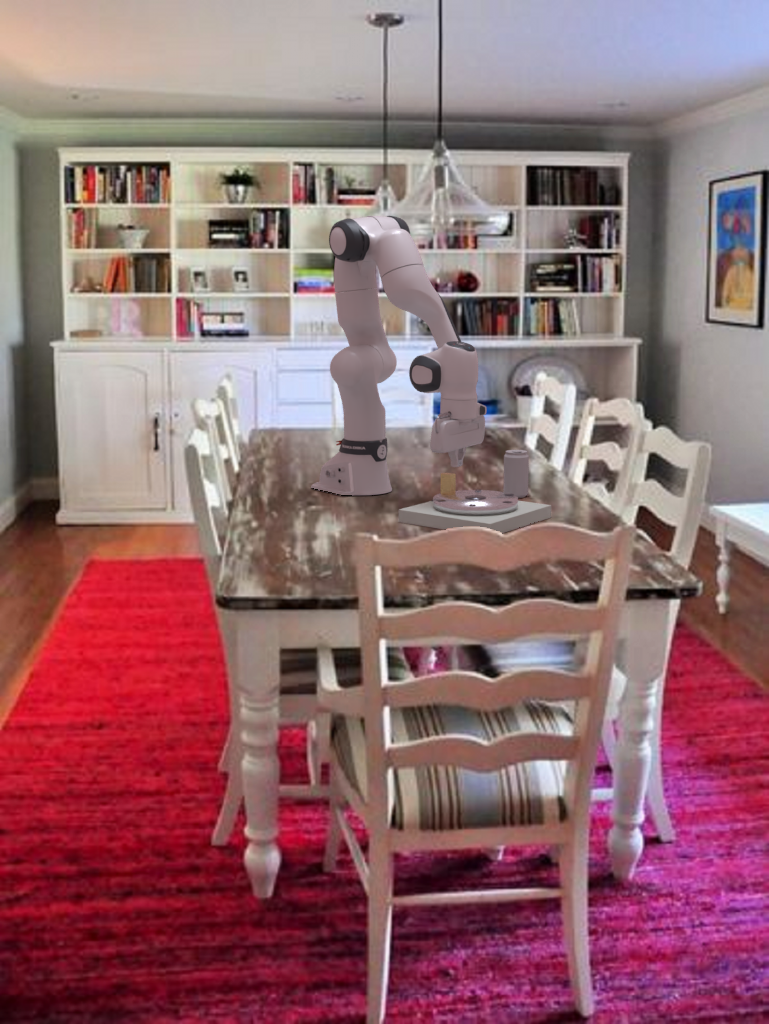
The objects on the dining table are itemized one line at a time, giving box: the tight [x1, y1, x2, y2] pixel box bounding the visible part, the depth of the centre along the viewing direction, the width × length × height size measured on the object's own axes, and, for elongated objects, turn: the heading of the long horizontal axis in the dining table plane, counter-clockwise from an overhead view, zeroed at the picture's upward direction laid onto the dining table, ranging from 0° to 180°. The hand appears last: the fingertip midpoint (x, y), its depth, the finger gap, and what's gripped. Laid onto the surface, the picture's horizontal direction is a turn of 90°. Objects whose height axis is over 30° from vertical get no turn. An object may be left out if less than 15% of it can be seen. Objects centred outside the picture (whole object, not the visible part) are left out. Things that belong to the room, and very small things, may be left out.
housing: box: [398, 499, 552, 534], centre depth 287 cm, size 26×26×3 cm
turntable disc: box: [432, 472, 519, 515], centre depth 286 cm, size 20×20×7 cm
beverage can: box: [503, 449, 530, 499], centre depth 314 cm, size 6×6×12 cm
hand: (456, 466), depth 294 cm, fingers closed
